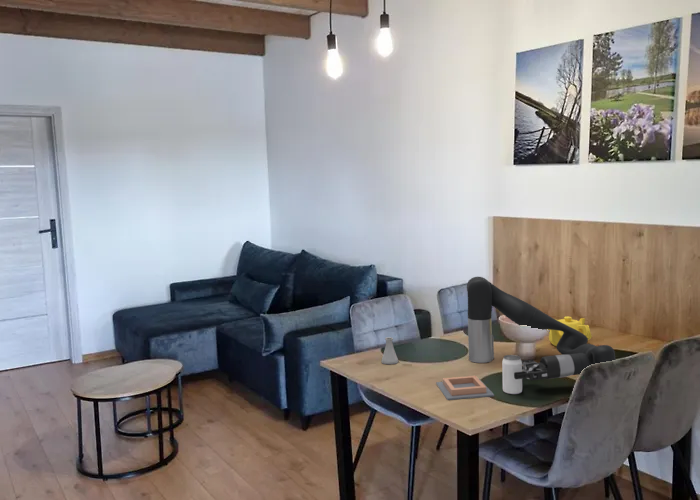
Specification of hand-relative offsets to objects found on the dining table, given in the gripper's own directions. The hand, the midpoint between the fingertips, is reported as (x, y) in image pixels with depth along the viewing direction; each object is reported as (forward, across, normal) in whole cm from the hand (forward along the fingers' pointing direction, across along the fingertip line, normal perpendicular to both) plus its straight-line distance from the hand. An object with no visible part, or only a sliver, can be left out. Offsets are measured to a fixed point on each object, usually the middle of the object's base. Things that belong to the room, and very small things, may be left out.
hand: (510, 372), depth 205 cm
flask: (+37, +41, -4) cm, 55 cm away
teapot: (-40, +50, -9) cm, 65 cm away
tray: (+15, +5, -6) cm, 17 cm away
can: (0, +1, -7) cm, 7 cm away
